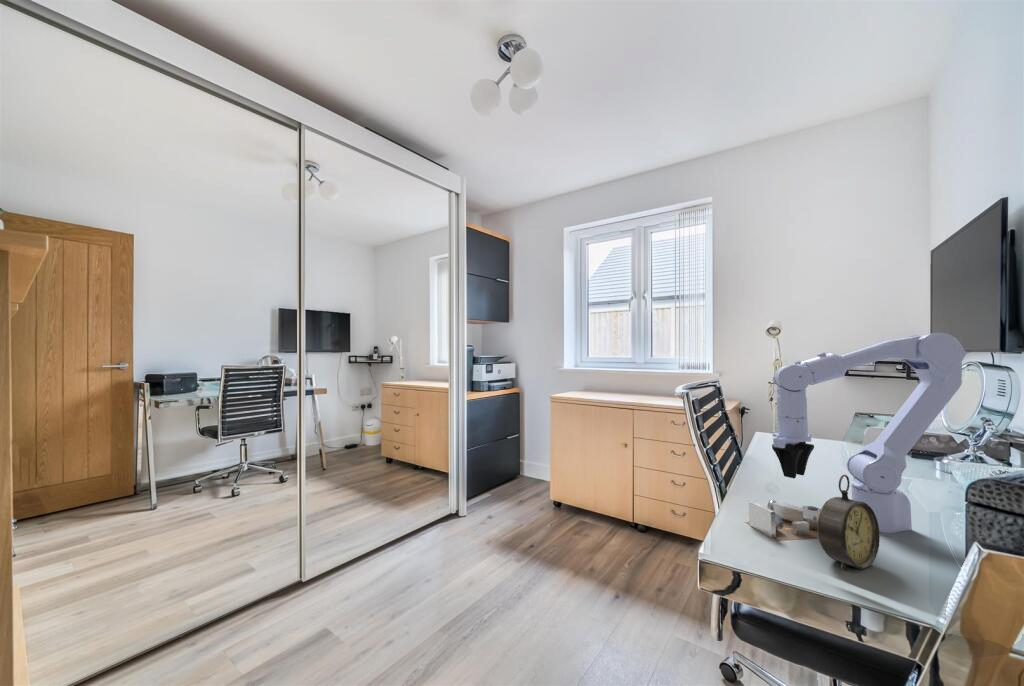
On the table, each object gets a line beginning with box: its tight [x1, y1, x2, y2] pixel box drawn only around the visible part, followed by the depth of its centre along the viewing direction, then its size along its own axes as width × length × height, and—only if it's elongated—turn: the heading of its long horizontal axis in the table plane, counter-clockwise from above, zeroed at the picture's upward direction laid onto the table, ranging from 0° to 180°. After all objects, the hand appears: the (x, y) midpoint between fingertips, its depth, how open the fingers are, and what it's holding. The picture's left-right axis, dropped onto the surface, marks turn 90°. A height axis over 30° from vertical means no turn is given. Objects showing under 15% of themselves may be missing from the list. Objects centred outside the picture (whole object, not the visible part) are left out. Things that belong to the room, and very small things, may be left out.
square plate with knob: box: [748, 500, 809, 538], centre depth 82 cm, size 9×6×5 cm, turn 98°
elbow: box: [766, 499, 821, 530], centre depth 86 cm, size 10×4×4 cm, turn 33°
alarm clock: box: [818, 474, 880, 571], centre depth 69 cm, size 11×5×16 cm, turn 114°
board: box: [744, 519, 819, 542], centre depth 82 cm, size 17×9×1 cm, turn 98°
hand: (794, 475), depth 91 cm, fingers open, 4 cm apart
